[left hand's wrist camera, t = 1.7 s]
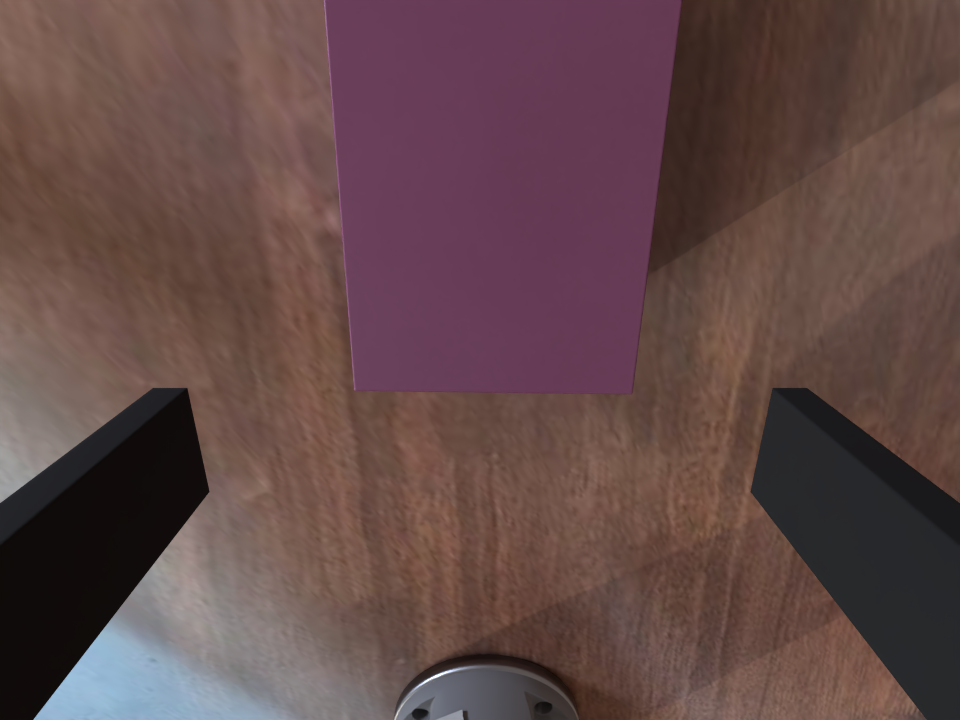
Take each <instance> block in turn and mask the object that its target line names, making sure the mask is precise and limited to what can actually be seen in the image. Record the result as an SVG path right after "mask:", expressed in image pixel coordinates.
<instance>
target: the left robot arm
mask: <svg viewBox="0 0 960 720" xmlns="http://www.w3.org/2000/svg"><path fill="white" fill-rule="evenodd" d="M208 493H209V487H208V483H207V478H206V473H205V469H204V464H203V459H202V455H201V450H200V445H199V441H198V436H197V431H196V427H195V422H194V417H193V413H192V408H191V403H190V399H189V394H188V389H187V388H153V389H151V390H150V391H149V392H147V393H146V394H145V395H143V396H142V397H141V398H139V399H138V400H137V401H135V402H134V403H133V404H131V405H130V406H129V407H127V408H126V409H125V410H123V411H122V412H121V413H119V414H118V415H117V416H115V417H114V418H113V419H111V420H110V421H109V422H107V423H106V424H105V425H103V426H102V427H101V428H99V429H98V430H97V431H96V432H94V433H93V434H92V435H90V436H89V437H88V438H86V439H85V440H84V441H82V442H81V443H80V444H78V445H77V446H76V447H74V448H73V449H72V450H70V451H69V452H68V453H66V454H65V455H64V456H62V457H61V458H60V459H58V460H57V461H56V462H54V463H53V464H52V465H50V466H49V467H48V468H46V469H45V470H44V471H42V472H41V473H40V474H38V475H37V476H36V477H34V478H33V479H32V480H31V481H29V482H28V483H27V484H25V485H24V486H23V487H21V488H20V489H19V490H17V491H16V492H15V493H13V494H12V495H11V496H9V497H8V498H7V499H5V500H4V501H3V502H1V503H0V720H33V719H34V718H35V717H36V715H37V714H38V713H39V711H40V710H41V709H42V708H43V706H44V705H45V704H46V702H47V701H48V700H49V699H50V697H51V696H52V695H53V693H54V692H55V691H56V689H57V688H58V687H59V686H60V684H61V683H62V682H63V680H64V679H65V678H66V677H67V675H68V674H69V673H70V671H71V670H72V669H73V667H74V666H75V665H76V664H77V662H78V661H79V660H80V658H81V657H82V656H83V655H84V653H85V652H86V651H87V649H88V648H89V647H90V646H91V644H92V643H93V642H94V640H95V639H96V638H97V636H98V635H99V634H100V633H101V631H102V630H103V629H104V627H105V626H106V625H107V624H108V622H109V621H110V620H111V618H112V617H113V616H114V614H115V613H116V612H117V611H118V609H119V608H120V607H121V605H122V604H123V603H124V602H125V600H126V599H127V598H128V596H129V595H130V594H131V592H132V591H133V590H134V589H135V587H136V586H137V585H138V583H139V582H140V581H141V580H142V578H143V577H144V576H145V574H146V573H147V572H148V570H149V569H150V568H151V567H152V565H153V564H154V563H155V561H156V560H157V559H158V558H159V556H160V555H161V554H162V552H163V551H164V550H165V548H166V547H167V546H168V545H169V543H170V542H171V541H172V539H173V538H174V537H175V536H176V534H177V533H178V532H179V530H180V529H181V528H182V527H183V525H184V524H185V523H186V521H187V520H188V519H189V517H190V516H191V515H192V514H193V512H194V511H195V510H196V508H197V507H198V506H199V505H200V503H201V502H202V501H203V499H204V498H205V497H206V495H207V494H208ZM751 493H752V494H753V495H754V497H755V498H756V499H757V501H758V502H759V503H760V505H761V506H762V507H763V508H764V510H765V511H766V512H767V514H768V515H769V516H770V517H771V519H772V520H773V521H774V523H775V524H776V525H777V527H778V528H779V529H780V530H781V532H782V533H783V534H784V536H785V537H786V538H787V539H788V541H789V542H790V543H791V545H792V546H793V547H794V548H795V550H796V551H797V552H798V554H799V555H800V556H801V558H802V559H803V560H804V561H805V563H806V564H807V565H808V567H809V568H810V569H811V570H812V572H813V573H814V574H815V576H816V577H817V578H818V580H819V581H820V582H821V583H822V585H823V586H824V587H825V589H826V590H827V591H828V592H829V594H830V595H831V596H832V598H833V599H834V600H835V602H836V603H837V604H838V605H839V607H840V608H841V609H842V611H843V612H844V613H845V614H846V616H847V617H848V618H849V620H850V621H851V622H852V624H853V625H854V626H855V627H856V629H857V630H858V631H859V633H860V634H861V635H862V636H863V638H864V639H865V640H866V642H867V643H868V644H869V646H870V647H871V648H872V649H873V651H874V652H875V653H876V655H877V656H878V657H879V658H880V660H881V661H882V662H883V664H884V665H885V666H886V667H887V669H888V670H889V671H890V673H891V674H892V675H893V677H894V678H895V679H896V680H897V682H898V683H899V684H900V686H901V687H902V688H903V689H904V691H905V692H906V693H907V695H908V696H909V697H910V699H911V700H912V701H913V702H914V704H915V705H916V706H917V708H918V709H919V710H920V711H921V713H922V714H923V715H924V717H925V718H926V719H927V720H960V503H959V502H957V501H956V500H955V499H953V498H952V497H951V496H949V495H948V494H947V493H945V492H944V491H943V490H941V489H940V488H939V487H937V486H936V485H935V484H933V483H932V482H931V481H929V480H928V479H927V478H926V477H924V476H923V475H922V474H920V473H919V472H918V471H916V470H915V469H914V468H912V467H911V466H910V465H908V464H907V463H906V462H904V461H903V460H902V459H900V458H899V457H898V456H896V455H895V454H894V453H892V452H891V451H890V450H888V449H887V448H886V447H884V446H883V445H882V444H880V443H879V442H878V441H876V440H875V439H874V438H872V437H871V436H870V435H868V434H867V433H866V432H864V431H863V430H862V429H861V428H859V427H858V426H857V425H855V424H854V423H853V422H851V421H850V420H849V419H847V418H846V417H845V416H843V415H842V414H841V413H839V412H838V411H837V410H835V409H834V408H833V407H831V406H830V405H829V404H827V403H826V402H825V401H823V400H822V399H821V398H819V397H818V396H817V395H815V394H814V393H813V392H811V391H810V390H809V389H807V388H773V389H772V394H771V399H770V403H769V408H768V413H767V417H766V422H765V427H764V431H763V436H762V441H761V445H760V450H759V455H758V459H757V464H756V469H755V473H754V478H753V483H752V487H751ZM394 720H579V716H578V710H577V706H576V703H575V700H574V698H573V696H572V694H571V692H570V691H569V689H568V688H567V687H566V686H565V684H564V683H563V682H562V681H561V680H560V679H558V678H557V677H556V676H555V675H553V674H552V673H551V672H549V671H548V670H546V669H544V668H542V667H540V666H538V665H536V664H534V663H531V662H528V661H526V660H522V659H519V658H514V657H509V656H502V655H471V656H464V657H459V658H455V659H451V660H448V661H445V662H442V663H440V664H437V665H435V666H433V667H431V668H429V669H427V670H426V671H424V672H423V673H421V674H420V675H418V676H417V677H416V678H415V679H413V680H412V681H411V682H410V683H409V684H408V686H407V687H406V688H405V689H404V691H403V692H402V694H401V695H400V698H399V700H398V702H397V705H396V709H395V716H394Z"/></svg>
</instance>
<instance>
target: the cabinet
mask: <svg viewBox="0 0 960 720" xmlns="http://www.w3.org/2000/svg"><path fill="white" fill-rule="evenodd" d="M681 7H682V0H324V8H325V21H326V34H327V47H328V59H329V72H330V85H331V98H332V111H333V124H334V136H335V149H336V162H337V175H338V188H339V201H340V213H341V226H342V239H343V252H344V265H345V278H346V290H347V303H348V316H349V329H350V342H351V354H352V367H353V380H354V390H355V391H410V392H490V393H571V394H632V393H633V385H634V377H635V369H636V361H637V353H638V345H639V337H640V330H641V322H642V314H643V306H644V298H645V290H646V282H647V274H648V267H649V259H650V251H651V243H652V235H653V227H654V219H655V211H656V204H657V196H658V188H659V180H660V172H661V164H662V156H663V148H664V141H665V133H666V125H667V117H668V109H669V101H670V93H671V85H672V78H673V70H674V62H675V54H676V46H677V38H678V30H679V22H680V15H681Z"/></svg>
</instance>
